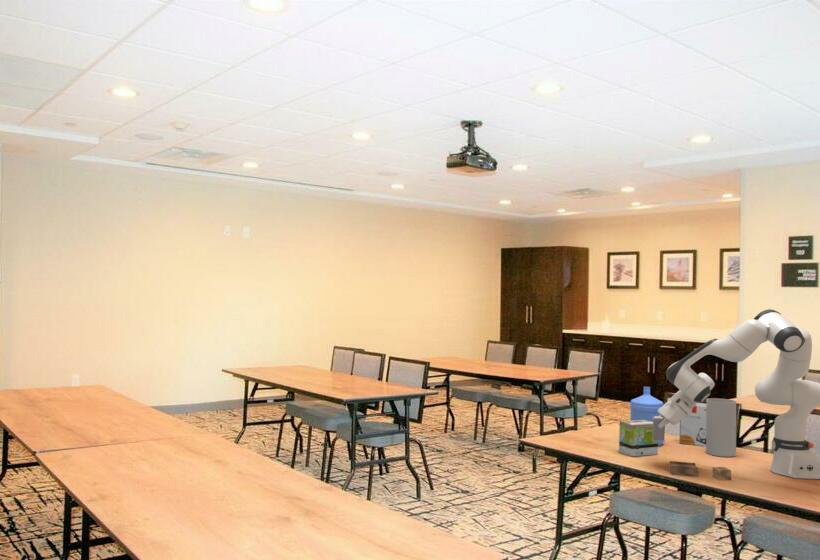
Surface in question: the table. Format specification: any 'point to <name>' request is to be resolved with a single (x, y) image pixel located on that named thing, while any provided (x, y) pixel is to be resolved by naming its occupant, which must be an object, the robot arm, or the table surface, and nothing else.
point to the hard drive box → (694, 426)
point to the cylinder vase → (721, 427)
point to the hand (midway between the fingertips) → (657, 425)
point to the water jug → (645, 408)
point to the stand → (683, 468)
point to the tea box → (637, 438)
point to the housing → (658, 432)
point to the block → (721, 473)
